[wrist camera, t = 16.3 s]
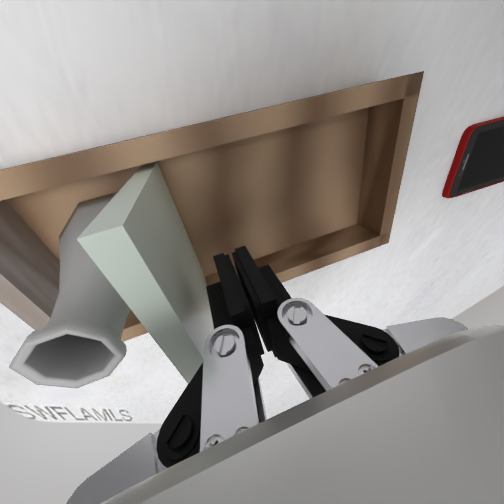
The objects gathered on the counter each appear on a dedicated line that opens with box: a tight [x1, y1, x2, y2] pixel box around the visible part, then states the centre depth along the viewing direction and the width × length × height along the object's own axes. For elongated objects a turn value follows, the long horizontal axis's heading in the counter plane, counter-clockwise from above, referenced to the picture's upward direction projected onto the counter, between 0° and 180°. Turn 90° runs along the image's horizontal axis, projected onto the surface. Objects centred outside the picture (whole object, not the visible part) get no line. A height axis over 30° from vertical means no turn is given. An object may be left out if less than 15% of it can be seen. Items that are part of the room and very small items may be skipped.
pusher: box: [77, 162, 214, 384], centre depth 12 cm, size 1×10×11 cm, turn 11°
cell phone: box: [442, 117, 504, 198], centre depth 25 cm, size 8×15×1 cm, turn 100°
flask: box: [9, 192, 131, 388], centre depth 12 cm, size 7×7×10 cm
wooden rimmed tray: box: [0, 71, 424, 342], centre depth 16 cm, size 28×13×5 cm, turn 101°
